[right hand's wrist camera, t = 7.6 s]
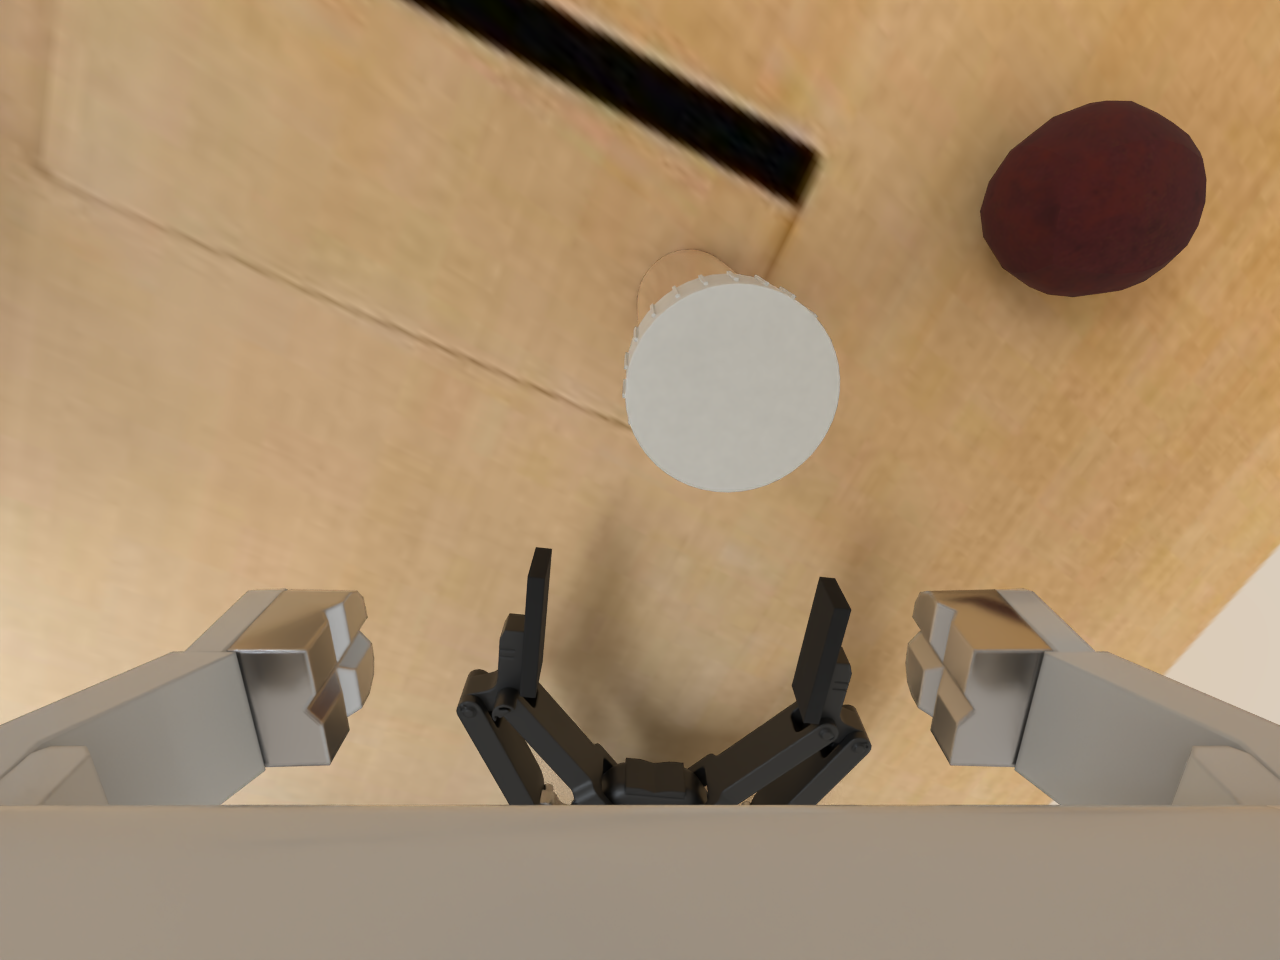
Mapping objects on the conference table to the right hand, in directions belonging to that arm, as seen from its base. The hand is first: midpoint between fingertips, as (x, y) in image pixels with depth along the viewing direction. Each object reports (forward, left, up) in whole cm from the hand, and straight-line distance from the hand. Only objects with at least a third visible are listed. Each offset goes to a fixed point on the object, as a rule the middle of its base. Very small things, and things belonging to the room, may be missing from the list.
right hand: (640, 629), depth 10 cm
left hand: (+10, +2, -19) cm, 22 cm away
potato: (-5, +19, -25) cm, 32 cm away
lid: (-1, +3, -9) cm, 10 cm away
